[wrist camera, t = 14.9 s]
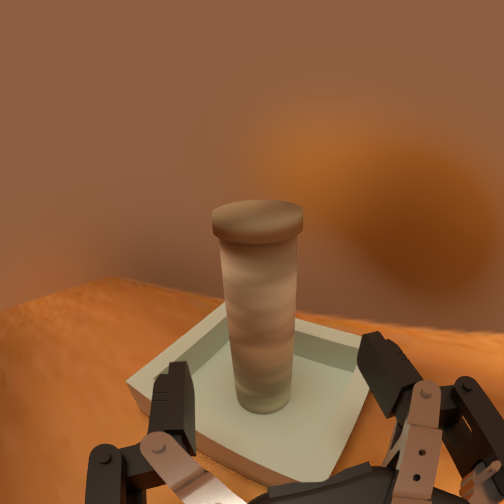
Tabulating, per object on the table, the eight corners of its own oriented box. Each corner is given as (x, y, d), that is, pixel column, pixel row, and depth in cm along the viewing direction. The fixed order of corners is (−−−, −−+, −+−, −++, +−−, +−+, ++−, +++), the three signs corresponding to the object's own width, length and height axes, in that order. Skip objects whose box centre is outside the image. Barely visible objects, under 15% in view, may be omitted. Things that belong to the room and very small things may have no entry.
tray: (140, 410, 21) (125, 381, 19) (232, 328, 32) (229, 298, 30) (313, 505, 13) (321, 489, 11) (375, 373, 24) (385, 342, 22)
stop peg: (220, 401, 21) (192, 217, 15) (253, 365, 25) (244, 197, 19) (275, 426, 19) (276, 229, 13) (304, 383, 23) (316, 204, 17)
